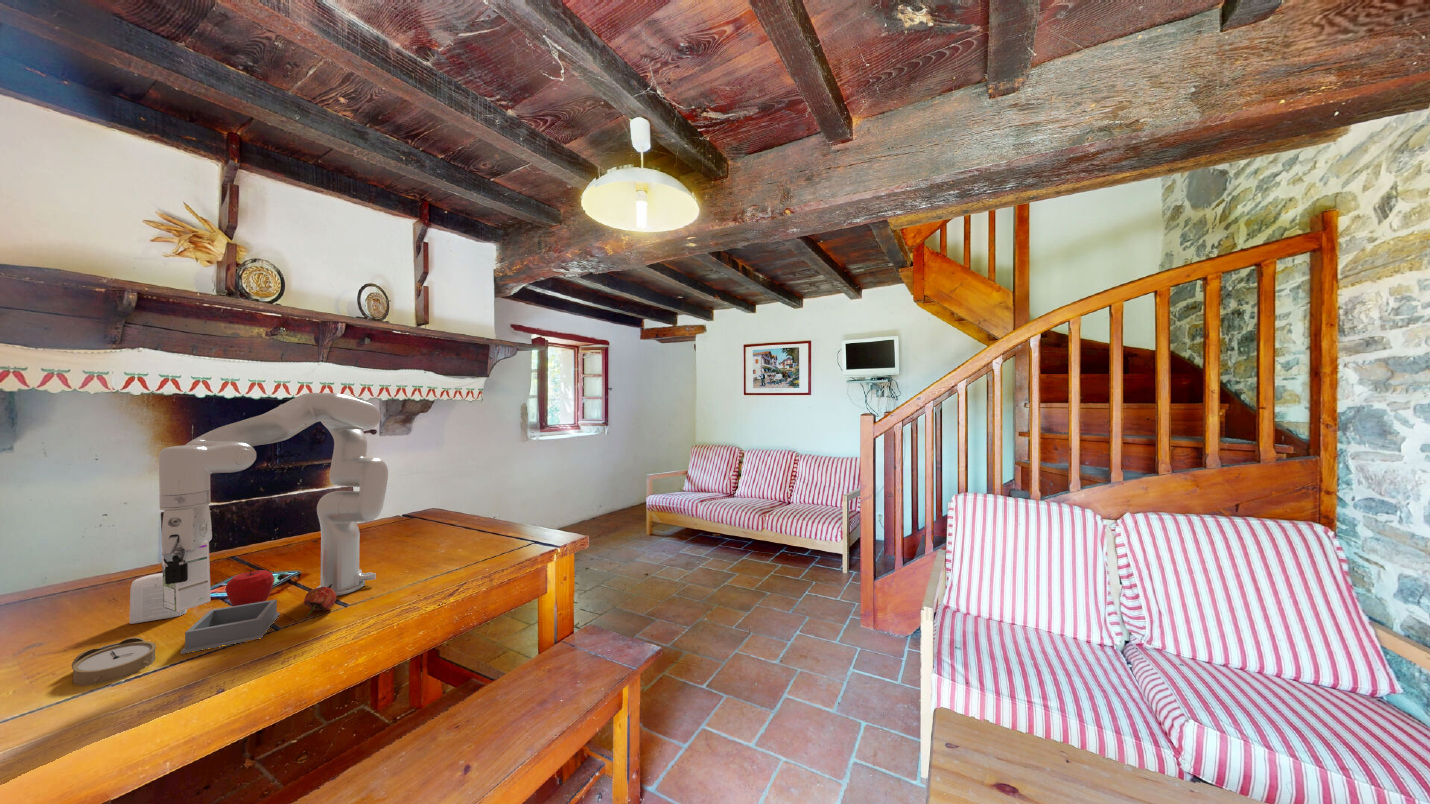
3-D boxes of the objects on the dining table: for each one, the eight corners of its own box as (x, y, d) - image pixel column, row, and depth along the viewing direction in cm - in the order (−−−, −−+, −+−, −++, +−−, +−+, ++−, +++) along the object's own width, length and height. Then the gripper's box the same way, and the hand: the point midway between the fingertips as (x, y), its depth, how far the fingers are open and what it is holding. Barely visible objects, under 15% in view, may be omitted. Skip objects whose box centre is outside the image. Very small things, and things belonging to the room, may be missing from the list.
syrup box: (212, 601, 104) (211, 540, 104) (174, 613, 99) (174, 548, 98) (198, 597, 106) (197, 537, 106) (161, 608, 101) (160, 545, 100)
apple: (277, 596, 137) (278, 561, 137) (268, 609, 129) (269, 572, 129) (232, 604, 132) (232, 568, 132) (219, 618, 124) (219, 579, 124)
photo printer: (189, 610, 128) (190, 567, 128) (183, 616, 125) (183, 572, 125) (134, 619, 123) (134, 574, 122) (125, 626, 119) (126, 580, 119)
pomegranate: (323, 624, 126) (351, 591, 134) (303, 611, 122) (333, 577, 129) (305, 623, 128) (333, 590, 136) (284, 610, 124) (315, 577, 132)
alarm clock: (79, 679, 93) (64, 647, 100) (78, 701, 93) (63, 668, 100) (163, 653, 103) (144, 625, 110) (161, 672, 103) (143, 644, 110)
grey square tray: (279, 615, 126) (279, 598, 126) (261, 639, 114) (261, 620, 114) (208, 628, 119) (208, 609, 119) (180, 654, 107) (181, 634, 107)
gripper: (190, 506, 96) (191, 586, 97) (225, 490, 111) (226, 559, 112) (137, 510, 93) (139, 594, 93) (181, 493, 107) (182, 565, 108)
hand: (186, 575), depth 102 cm, fingers closed on syrup box, 8 cm apart
